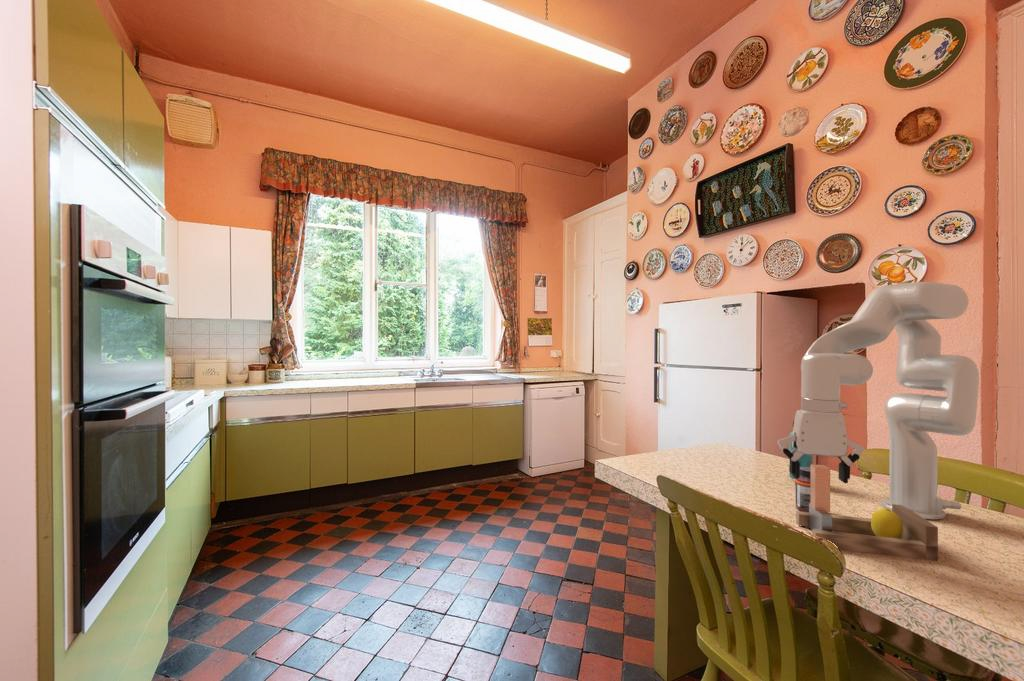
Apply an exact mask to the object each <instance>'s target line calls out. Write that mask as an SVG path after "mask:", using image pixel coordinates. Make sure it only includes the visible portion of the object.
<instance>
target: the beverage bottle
mask: <svg viewBox="0 0 1024 681" xmlns="http://www.w3.org/2000/svg"><path fill="white" fill-rule="evenodd" d="M793 427H794V420H793V422H792V428H793ZM792 434H793V430H792V431H790V433H789V434H788V436H790V435H792ZM788 444H789V446H788V450H789V451H790V452H791V451H793V450H794V448H793V446H792V442H790V443H788ZM813 459H814V458H813V455H808V454H803V455H802V456H801V457H800V458H799V459H798V462H800V467H810V468H811V464H814V463H813ZM788 461H789V463H790V459H789V458H788ZM788 467H789V468H788V470H789V473H788V475H789V477H790V478H791V479H793V480H795V477H793V476H792V474H791V473H790V464H788Z"/></svg>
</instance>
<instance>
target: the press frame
mask: <svg viewBox="0 0 1024 681" xmlns="http://www.w3.org/2000/svg"><path fill="white" fill-rule="evenodd" d="M892 511H893V512H894V513H896V514H897V515H898V516H899V518H900V519H901V521H902V525H903V533H902V536H901V538H900V539H897V538H888V537H879V536H876V535H875V534H874V532H873V530H872V528H871V518H869V517H858V516H848V515H838V514H831V515H832V531H824V530H815V529H813V531H812V535H813V534H814V535H815V536H818V537H822V538H824V539H826V540H829V541H831V542H832V543H834V544H835V545H836V546H837V547H838V548H839V549H838V550H843V551H851V552H859V553H868V554H869V553H870V554H876V555H877V554H878V555H884V556H885V555H886V556H892V557H894V556H895V557H901V556H902V558H909V559H910V558H911V559H919V560H927V561H934V562H938V561H939V557H938V556H939V527H938V526H937V525H936V524H933V523H932V522H930V521H928V519H924V518H922V517H921V516H919V515H917V514H916V513H914V512H913V511H911V510H910V509H908V508H906V507H905V506H903V505H897V504H892ZM795 513H796V514H795V516H796V517H795V518H796V519H795V520H796V521H795V522H796V525H797V524H798V525H801V526H805V527H804V528H809V512H802V511H800V510H798V511H795ZM798 525H797V526H798Z"/></svg>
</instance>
